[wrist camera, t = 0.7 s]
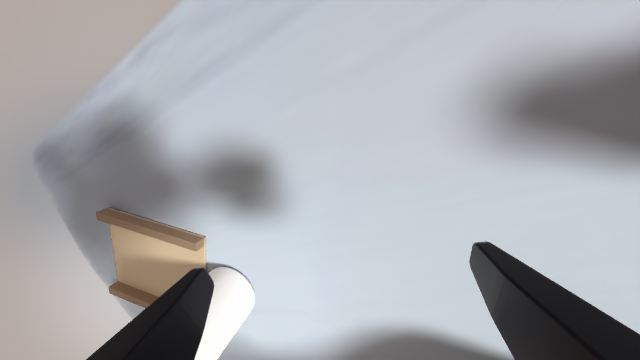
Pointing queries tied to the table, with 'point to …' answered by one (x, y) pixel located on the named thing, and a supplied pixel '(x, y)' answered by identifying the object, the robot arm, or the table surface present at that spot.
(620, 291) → the table surface
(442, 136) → the table surface
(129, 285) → the wooden tray
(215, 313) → the can
